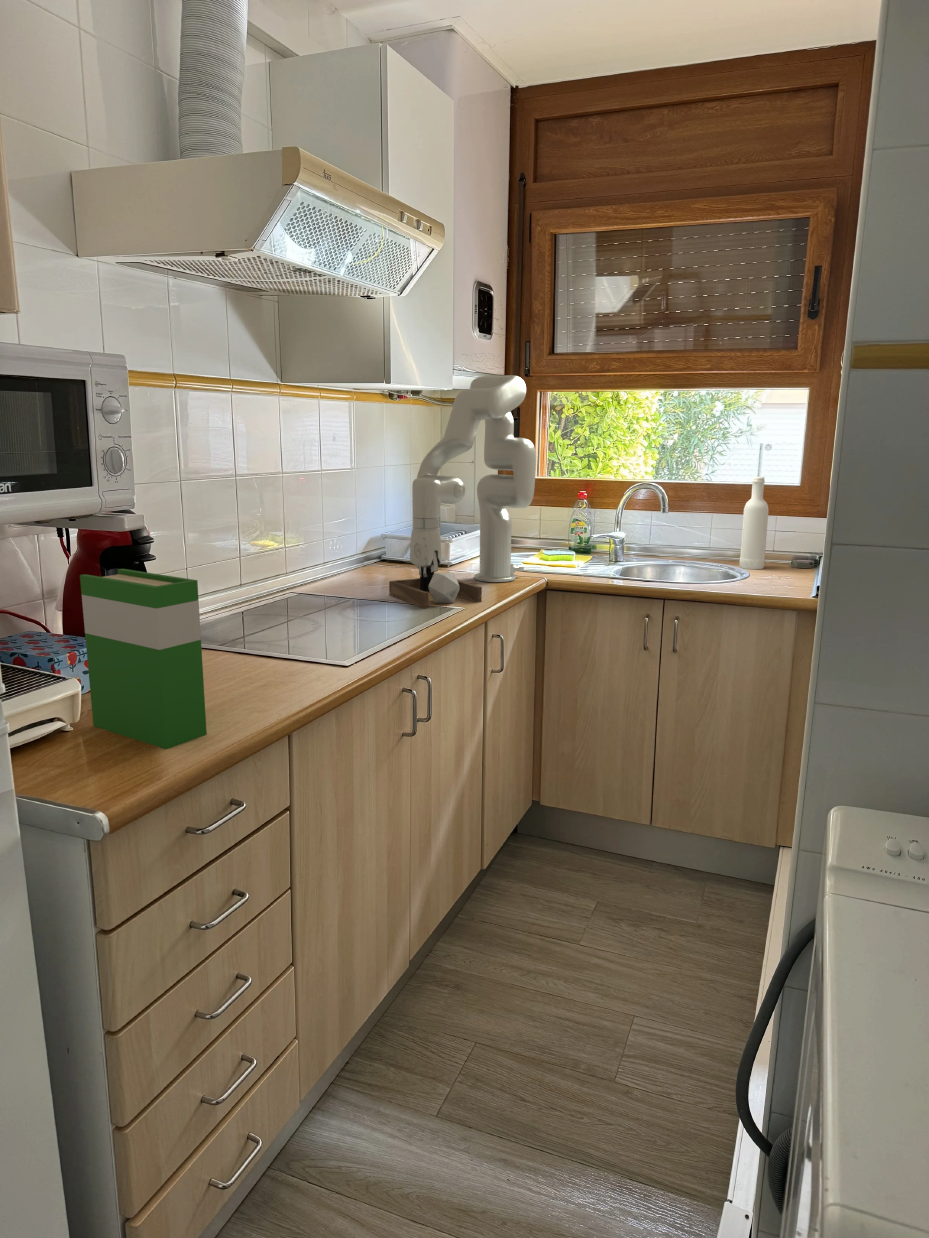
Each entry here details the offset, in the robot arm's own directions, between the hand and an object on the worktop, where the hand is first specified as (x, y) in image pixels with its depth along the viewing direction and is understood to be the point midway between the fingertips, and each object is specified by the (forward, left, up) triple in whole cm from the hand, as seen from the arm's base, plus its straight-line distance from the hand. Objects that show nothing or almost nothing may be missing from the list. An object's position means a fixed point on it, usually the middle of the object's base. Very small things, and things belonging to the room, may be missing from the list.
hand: (426, 590), depth 242 cm
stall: (0, +4, -2) cm, 5 cm away
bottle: (-118, +12, -2) cm, 119 cm away
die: (0, +9, -2) cm, 10 cm away
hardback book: (+90, +72, -2) cm, 116 cm away
